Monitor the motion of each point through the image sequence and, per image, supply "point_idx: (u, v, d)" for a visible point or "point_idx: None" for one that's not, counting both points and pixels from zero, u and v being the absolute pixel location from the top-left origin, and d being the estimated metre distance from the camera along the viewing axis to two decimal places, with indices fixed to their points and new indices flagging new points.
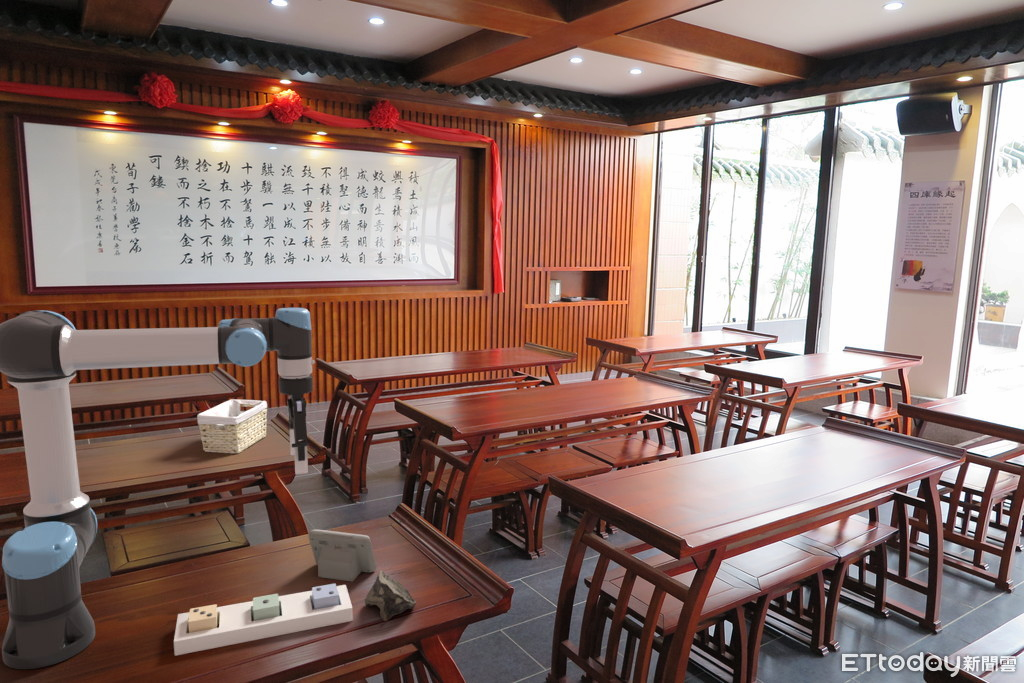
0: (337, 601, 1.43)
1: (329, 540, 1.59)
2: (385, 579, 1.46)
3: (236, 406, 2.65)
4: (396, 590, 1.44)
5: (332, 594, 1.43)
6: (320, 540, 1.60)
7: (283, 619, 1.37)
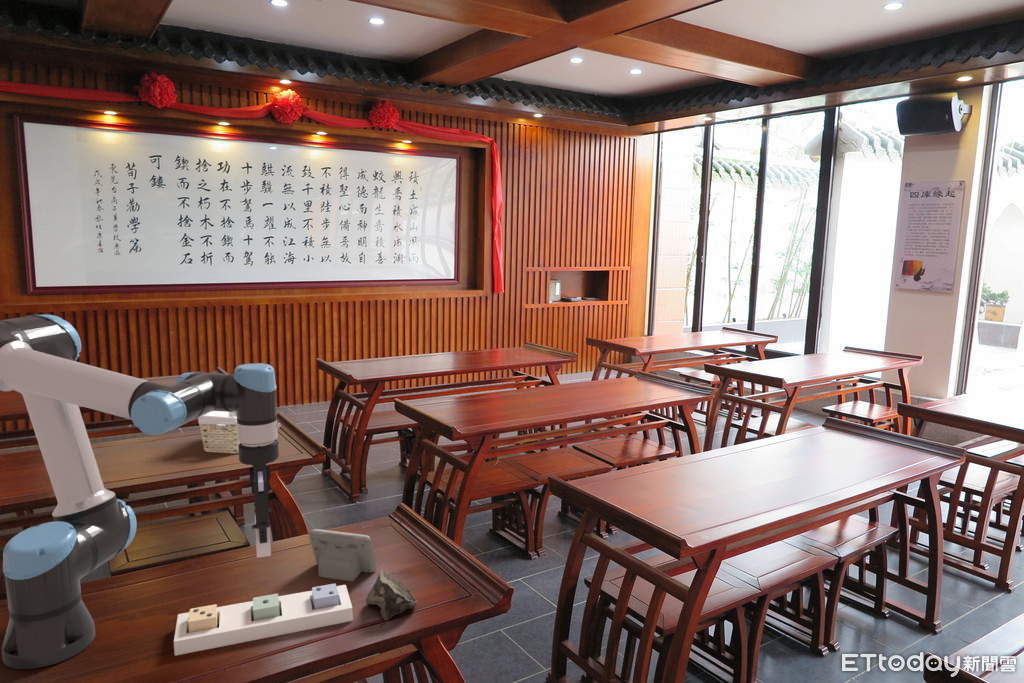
0: (337, 601, 1.43)
1: (329, 539, 1.59)
2: (386, 579, 1.46)
3: None
4: (397, 590, 1.44)
5: (332, 594, 1.43)
6: (320, 540, 1.60)
7: (283, 619, 1.37)
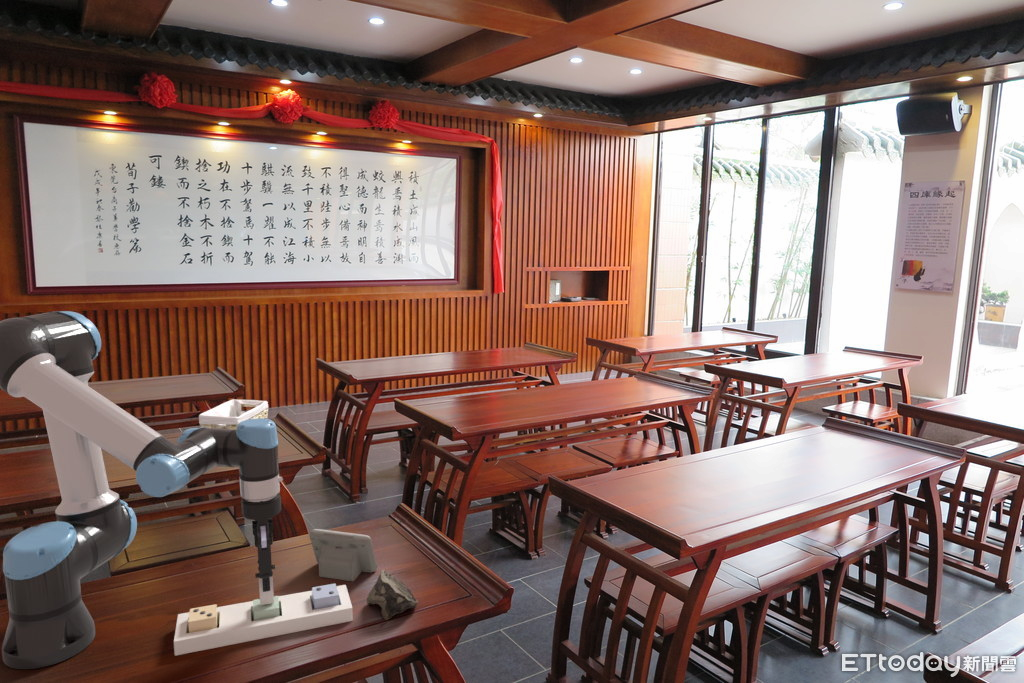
0: (337, 601, 1.43)
1: (330, 539, 1.59)
2: (387, 578, 1.46)
3: (237, 406, 2.65)
4: (398, 589, 1.44)
5: (332, 594, 1.43)
6: (321, 540, 1.60)
7: (283, 619, 1.37)
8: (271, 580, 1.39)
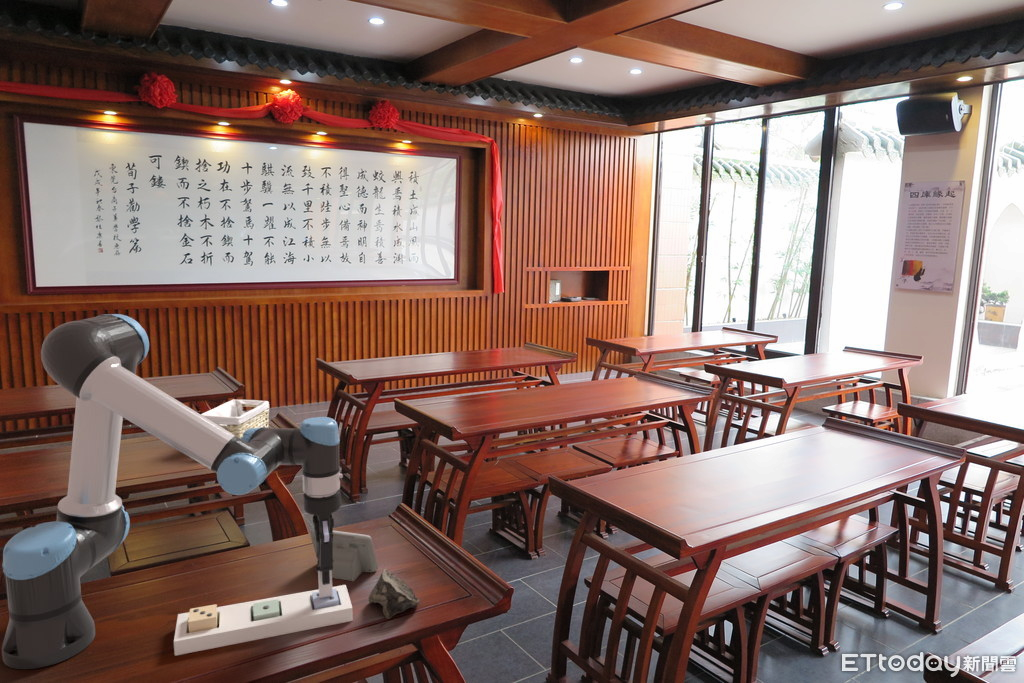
0: None
1: None
2: (388, 577, 1.47)
3: (238, 406, 2.65)
4: (399, 588, 1.44)
5: (332, 599, 1.44)
6: None
7: (283, 619, 1.37)
8: (330, 573, 1.43)
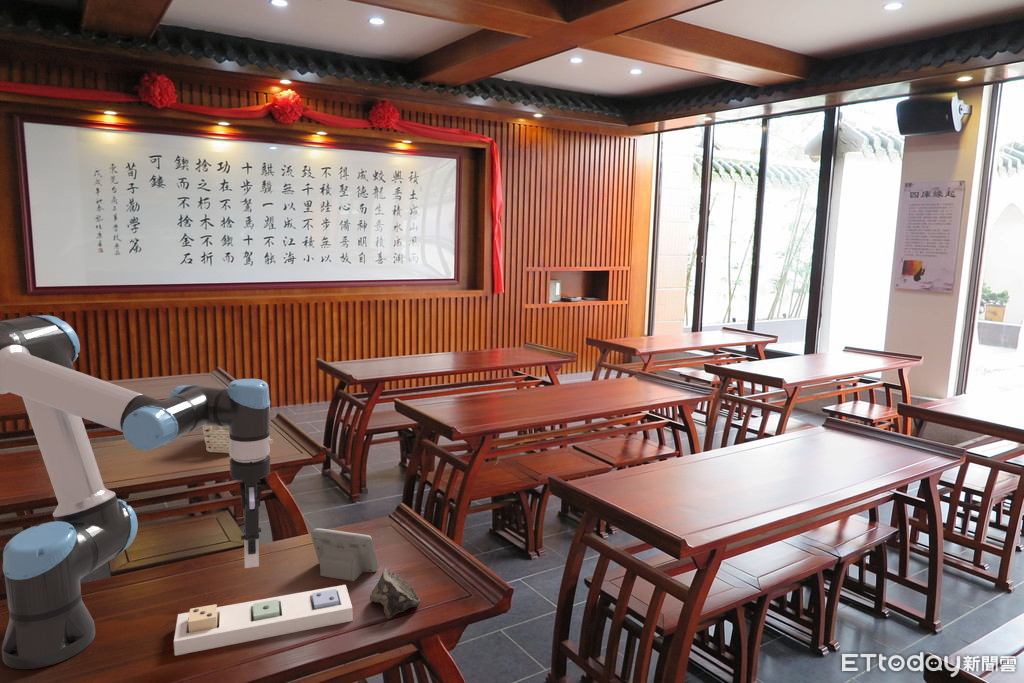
0: None
1: (331, 539, 1.60)
2: (389, 577, 1.47)
3: None
4: (400, 588, 1.44)
5: (332, 600, 1.44)
6: (322, 539, 1.60)
7: (283, 619, 1.37)
8: (257, 543, 1.37)
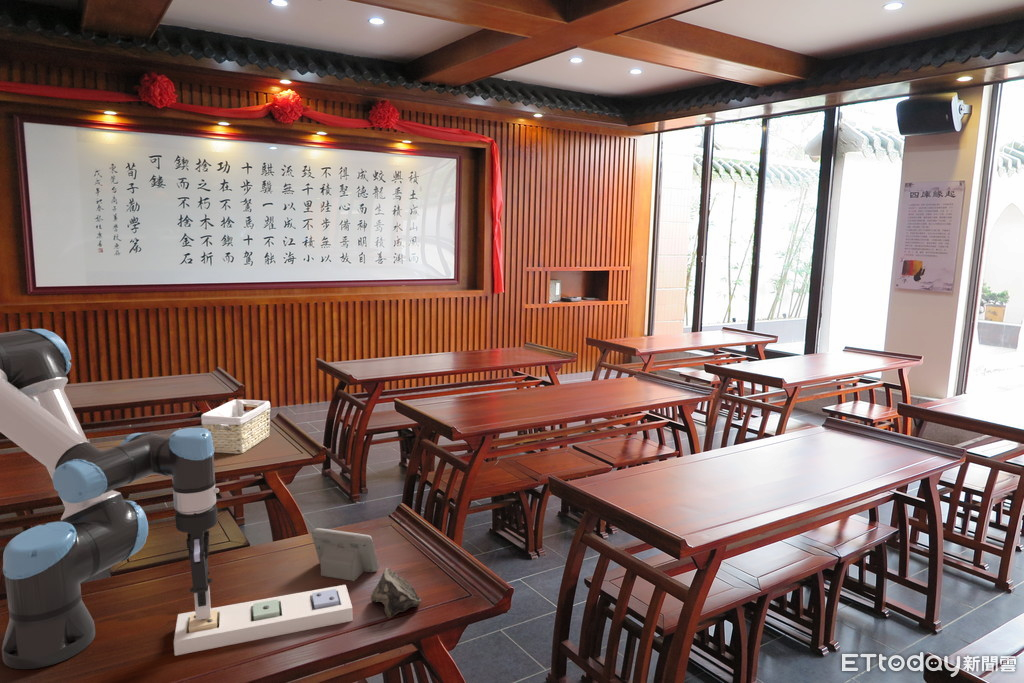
0: None
1: (331, 539, 1.60)
2: (390, 576, 1.47)
3: (239, 406, 2.65)
4: (401, 588, 1.45)
5: (332, 600, 1.44)
6: (323, 539, 1.61)
7: (283, 619, 1.37)
8: (207, 594, 1.35)
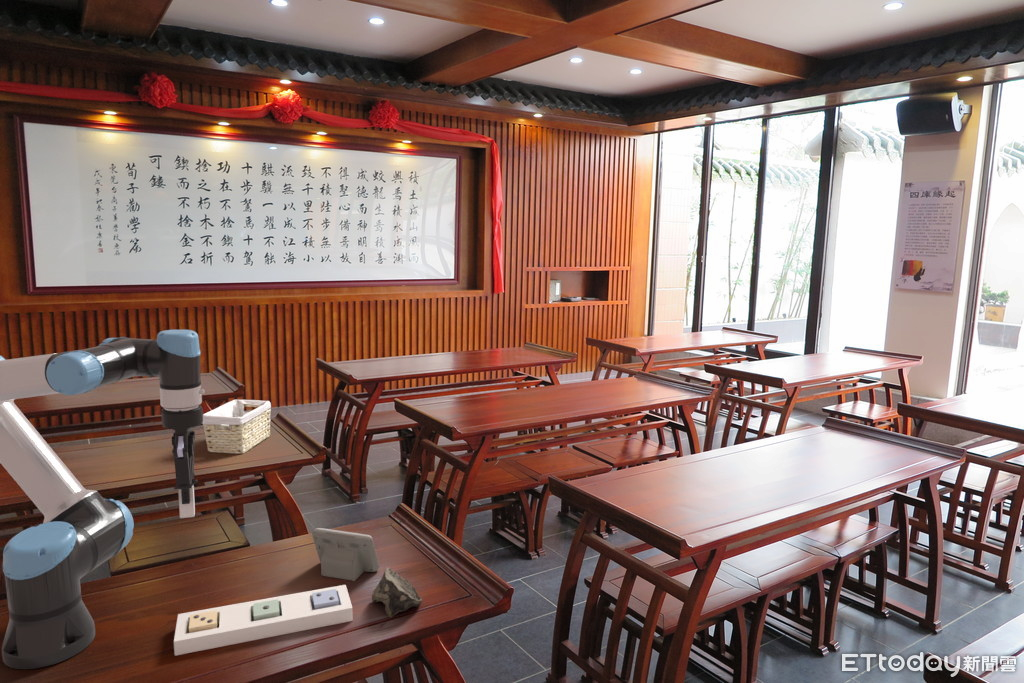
0: None
1: (332, 538, 1.60)
2: (391, 576, 1.47)
3: (240, 406, 2.65)
4: (401, 587, 1.45)
5: (332, 600, 1.44)
6: (323, 539, 1.61)
7: (283, 619, 1.37)
8: (191, 493, 1.38)
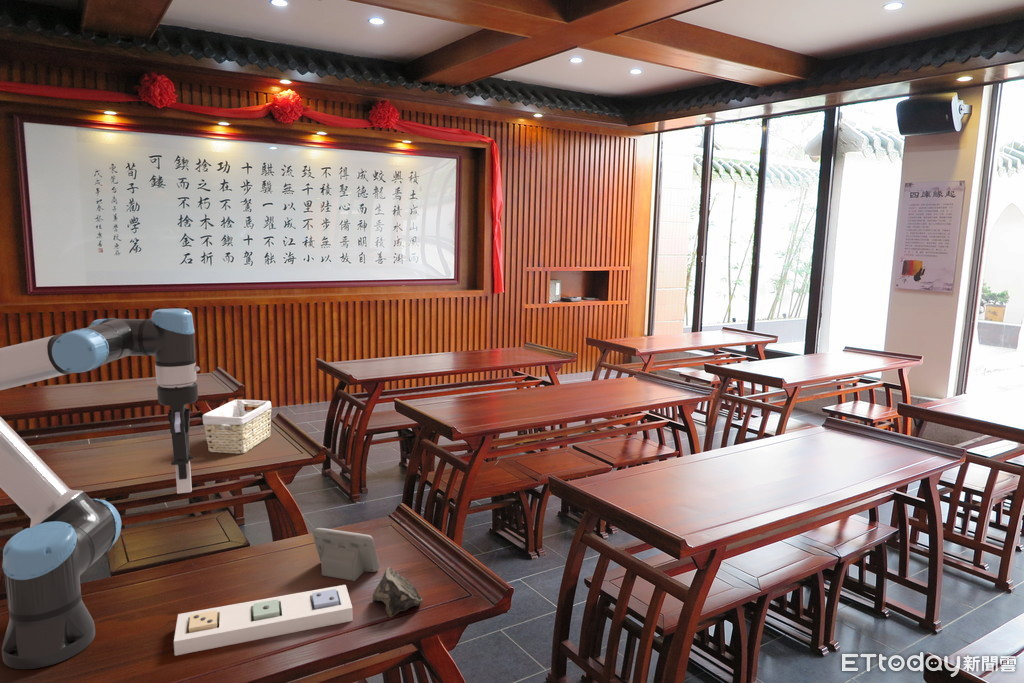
0: None
1: (332, 538, 1.60)
2: (392, 576, 1.47)
3: (240, 406, 2.64)
4: (402, 587, 1.45)
5: (332, 600, 1.44)
6: (324, 539, 1.61)
7: (283, 619, 1.37)
8: (188, 469, 1.42)
